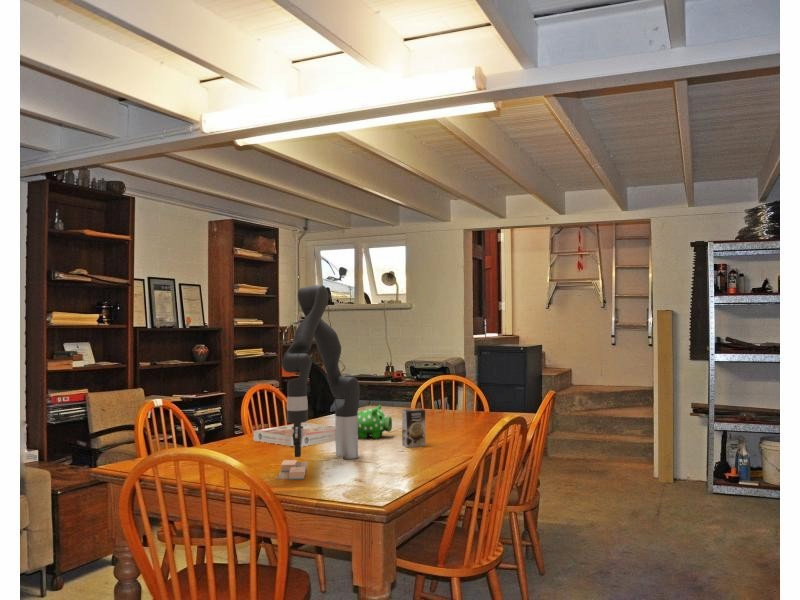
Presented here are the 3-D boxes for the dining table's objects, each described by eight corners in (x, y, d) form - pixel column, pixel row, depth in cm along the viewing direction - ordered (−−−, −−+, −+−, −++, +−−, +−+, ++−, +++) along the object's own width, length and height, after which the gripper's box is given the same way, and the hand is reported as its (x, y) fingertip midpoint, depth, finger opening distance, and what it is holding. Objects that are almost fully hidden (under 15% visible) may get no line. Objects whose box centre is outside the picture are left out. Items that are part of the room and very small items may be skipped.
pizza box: (298, 436, 303) (253, 430, 323) (298, 448, 303) (253, 441, 323) (348, 427, 327) (303, 422, 348) (348, 438, 327) (303, 432, 348)
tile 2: (305, 467, 244) (303, 471, 236) (305, 473, 244) (303, 479, 236) (291, 467, 244) (289, 472, 236) (291, 474, 244) (289, 479, 236)
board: (308, 465, 265) (308, 461, 265) (303, 481, 238) (303, 478, 238) (284, 465, 265) (284, 462, 265) (276, 482, 237) (276, 479, 237)
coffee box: (407, 447, 299) (406, 411, 300) (401, 445, 305) (401, 409, 306) (426, 446, 302) (425, 409, 303) (420, 443, 308) (419, 408, 309)
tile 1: (296, 460, 257) (295, 464, 249) (296, 466, 257) (295, 471, 249) (283, 460, 257) (281, 464, 249) (283, 467, 256) (281, 471, 249)
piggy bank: (387, 440, 319) (387, 408, 319) (350, 439, 322) (350, 408, 322) (392, 435, 333) (392, 404, 333) (357, 434, 336) (356, 404, 336)
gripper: (306, 410, 238) (307, 460, 238) (308, 406, 252) (309, 452, 251) (285, 411, 238) (285, 460, 237) (288, 406, 251) (288, 453, 250)
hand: (297, 456), depth 244 cm, fingers closed
